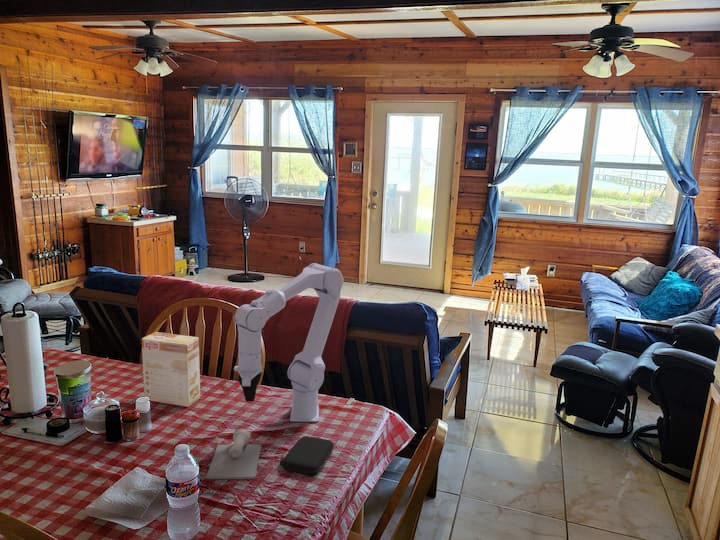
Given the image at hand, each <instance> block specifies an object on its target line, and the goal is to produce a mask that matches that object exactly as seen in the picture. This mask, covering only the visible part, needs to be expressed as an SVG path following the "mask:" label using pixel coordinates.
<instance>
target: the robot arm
mask: <svg viewBox="0 0 720 540" xmlns="http://www.w3.org/2000/svg"><path fill="white" fill-rule="evenodd" d="M344 282H345V278H344V276H343V274H342V272H341V271H340V269H339V268H336V267H335V268H334V267H333V268H332V267H330V266H327V265H323V264H319V263H317V262H313V263H310V264H309V265H308V266H306V267H304V268H302V272H301V273H300V274H299V275H297V276H295V278H293V279H291V281H289V282H287V283H286V284H285V285H284V286H282V287H281V288H280V289H279V290H278V289H267V290H266V291H265V294H262V296H260V297H258V298H256V299H253V300H252V301H250V302H251V303H249V304H247V303H245V304H242V305H241V306H239V307H238V308H237V309H236V311H235V315H233V317H232V318H233V321H234V323H235V324H236V326H237V333H238V335H237V337H238V339H237V340H238V341H237V342H238V365H235V366H234V368H233V371H234V372H238V378H237V381H238V383H239V384H240V386H241V388H242V391H243V396H244V400H245V402H250V403H252V402H255V399H256V395H257V388H258V385H259V383H260V380H261V378H262V375H263V374H262V373H263V372H262V371H263V366H262V329H263V328H264V327H265V325H266V323H267V321H269V320H270V318H271V317H272V316H275V315H276V314H277V313H279V312H280V311H281V310H283V309H284V308H285V307H286V303H287V302H288V301H289V300H291V299H293V298H294V297H296V296H298V295H300V294H301V293H302V292H304V291H306V290H307V289H313V290H314V291H315V292H316V295H317V296H318V299H319V301H318V303H317V306H316V309H315V312H314V315H313V319H312V322H311V325H310V327H309V331H308V334H307V336H306V340H305V343H304V347H303V349H302V350H301V351H300V352H299V353H297V354H296V355H294V359H293V361H292V362H291V363H290V364H289V367H287V368H288V369H287V378H288V379H289V380H290V381H291V386H292V399H291V400H292V403H291V404H292V405H291V410H290V418H289V421H290V422H292V423H293V422H297V423H299V422H303V423H306V422H310V423H311V422H313V423H315V422H316V423H317V422H318V423H319V416H320V405H319V404H318V401H319V390H320V388H321V387H322V385H323V383H324V381H325V369H326V365H325V363H324V360H323V359H322V358H323V357H322V355H323V352H324V350H325V346H326V342H327V340H328V336H329V334H330V330H331V328H332V324H333V321H334V318H335V314H336V313H337V312H336V311H337V308H338V305H339V303H340V299H341V290H342V287H343V284H344Z"/></svg>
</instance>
